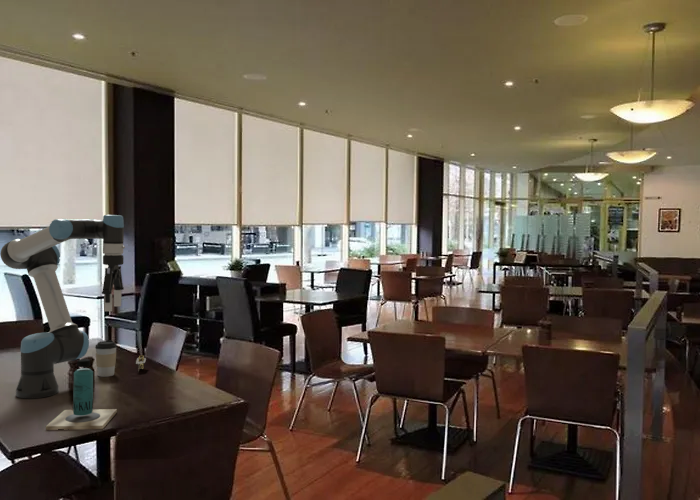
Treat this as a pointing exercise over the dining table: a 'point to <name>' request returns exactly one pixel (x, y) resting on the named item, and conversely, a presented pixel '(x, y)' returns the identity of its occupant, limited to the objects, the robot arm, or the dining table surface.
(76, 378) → the beverage bottle
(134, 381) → the dining table surface
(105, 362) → the coffee cup
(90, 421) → the birch board
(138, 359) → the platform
